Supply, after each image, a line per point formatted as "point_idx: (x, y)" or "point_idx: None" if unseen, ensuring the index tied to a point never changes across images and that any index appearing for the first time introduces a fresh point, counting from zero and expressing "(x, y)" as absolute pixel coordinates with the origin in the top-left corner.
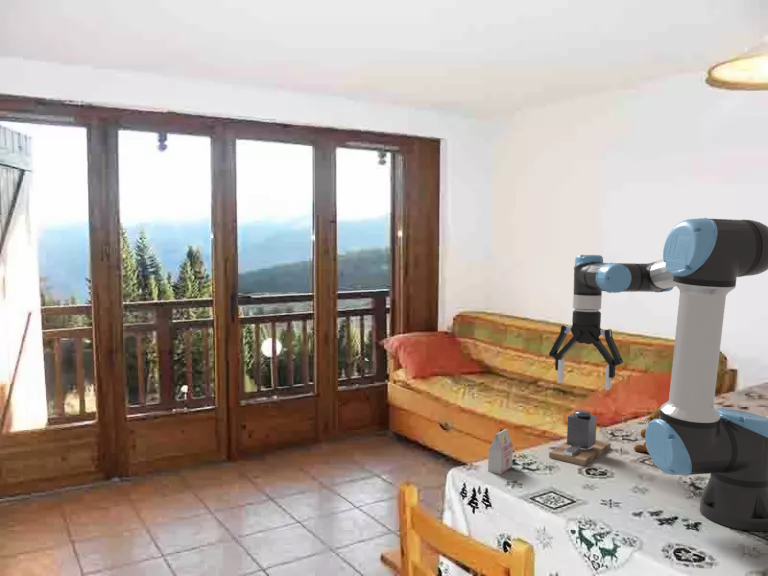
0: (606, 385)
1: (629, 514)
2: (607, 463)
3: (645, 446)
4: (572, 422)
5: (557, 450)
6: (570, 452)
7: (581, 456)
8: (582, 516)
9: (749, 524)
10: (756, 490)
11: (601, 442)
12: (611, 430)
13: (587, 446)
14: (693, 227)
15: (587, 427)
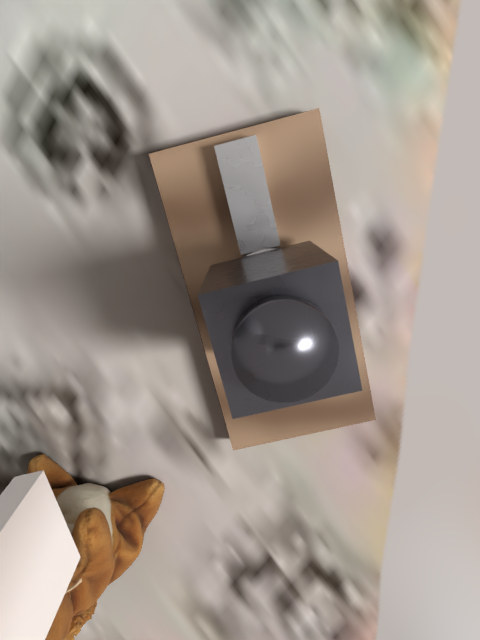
0: (3, 507)
1: None
2: (123, 269)
3: (115, 504)
4: (300, 263)
5: (310, 166)
6: (223, 146)
7: (192, 190)
8: None
9: None
10: None
11: (258, 425)
12: (356, 611)
13: (211, 267)
14: None
15: (207, 283)
